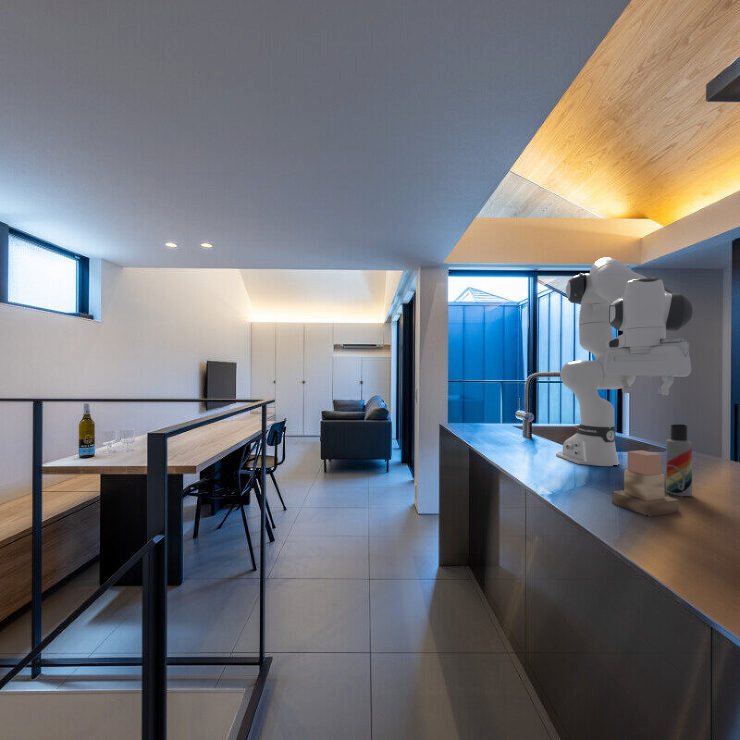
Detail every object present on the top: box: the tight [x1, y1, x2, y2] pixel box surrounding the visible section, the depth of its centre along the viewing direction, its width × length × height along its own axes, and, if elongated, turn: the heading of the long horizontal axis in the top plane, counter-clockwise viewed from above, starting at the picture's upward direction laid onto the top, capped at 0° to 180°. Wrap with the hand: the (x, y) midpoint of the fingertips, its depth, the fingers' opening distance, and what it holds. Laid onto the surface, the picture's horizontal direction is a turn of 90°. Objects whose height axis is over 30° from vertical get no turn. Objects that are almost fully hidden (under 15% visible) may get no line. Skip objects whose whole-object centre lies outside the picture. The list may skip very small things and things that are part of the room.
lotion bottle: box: [665, 423, 693, 497], centre depth 109 cm, size 6×6×20 cm
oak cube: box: [623, 469, 665, 500], centre depth 99 cm, size 6×6×6 cm
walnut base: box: [611, 489, 680, 517], centre depth 98 cm, size 10×10×3 cm
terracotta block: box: [627, 449, 662, 476], centre depth 99 cm, size 5×5×5 cm
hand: (644, 394), depth 98 cm, fingers open, 8 cm apart
